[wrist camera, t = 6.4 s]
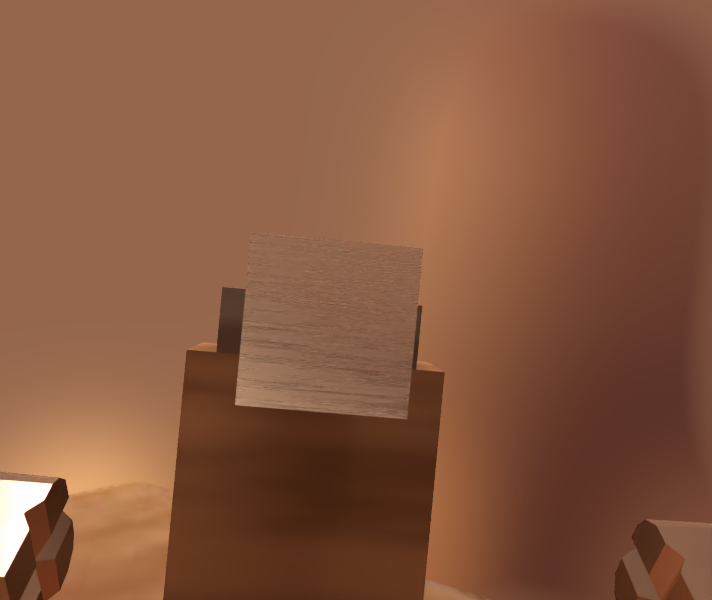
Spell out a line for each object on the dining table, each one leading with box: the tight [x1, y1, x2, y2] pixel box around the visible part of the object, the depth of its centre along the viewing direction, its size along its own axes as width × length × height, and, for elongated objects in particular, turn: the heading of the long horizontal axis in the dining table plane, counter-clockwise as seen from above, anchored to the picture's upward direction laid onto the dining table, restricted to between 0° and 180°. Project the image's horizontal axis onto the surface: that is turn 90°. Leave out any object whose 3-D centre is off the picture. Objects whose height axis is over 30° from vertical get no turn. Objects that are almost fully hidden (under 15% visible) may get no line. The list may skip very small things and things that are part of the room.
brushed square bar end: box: [235, 232, 423, 419], centre depth 24 cm, size 26×3×3 cm, turn 4°
